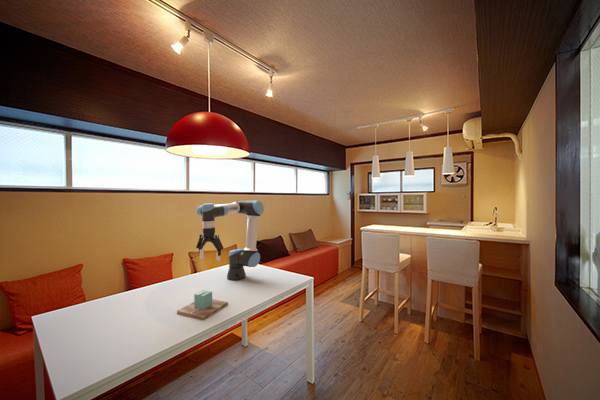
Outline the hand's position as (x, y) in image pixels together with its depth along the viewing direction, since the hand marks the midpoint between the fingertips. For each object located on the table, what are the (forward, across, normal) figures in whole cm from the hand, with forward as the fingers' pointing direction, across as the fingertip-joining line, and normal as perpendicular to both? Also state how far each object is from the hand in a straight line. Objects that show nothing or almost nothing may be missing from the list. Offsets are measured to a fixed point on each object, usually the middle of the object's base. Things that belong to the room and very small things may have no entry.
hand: (210, 259), depth 155 cm
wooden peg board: (+26, +5, -13) cm, 29 cm away
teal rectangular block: (+24, +5, -13) cm, 28 cm away
